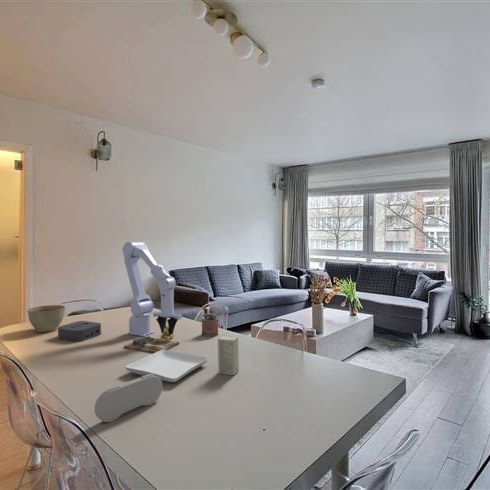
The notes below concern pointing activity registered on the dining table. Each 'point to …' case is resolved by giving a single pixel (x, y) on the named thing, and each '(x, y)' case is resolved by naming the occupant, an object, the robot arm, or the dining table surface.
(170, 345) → the gear board
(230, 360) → the skincare box
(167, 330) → the brass gear
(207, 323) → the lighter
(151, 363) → the salad plate
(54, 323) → the planter bowl
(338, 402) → the dining table surface
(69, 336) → the streaming box
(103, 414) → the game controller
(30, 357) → the dining table surface
